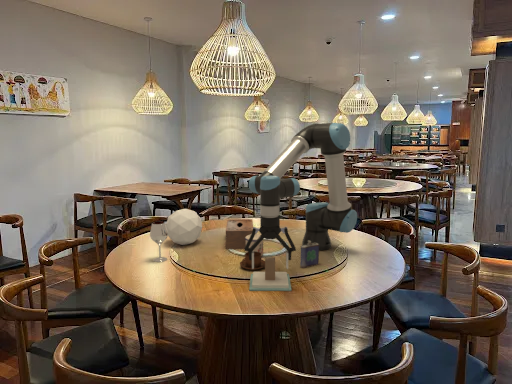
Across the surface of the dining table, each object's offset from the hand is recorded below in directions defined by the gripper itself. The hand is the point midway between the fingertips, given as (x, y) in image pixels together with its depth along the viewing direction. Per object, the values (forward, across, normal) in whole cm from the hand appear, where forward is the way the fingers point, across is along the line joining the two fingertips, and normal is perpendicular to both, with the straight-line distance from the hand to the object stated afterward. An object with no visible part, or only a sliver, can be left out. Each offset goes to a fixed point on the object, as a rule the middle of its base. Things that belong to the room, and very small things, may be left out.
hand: (270, 267), depth 150 cm
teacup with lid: (+6, +7, -36) cm, 37 cm away
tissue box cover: (+7, +16, -57) cm, 60 cm away
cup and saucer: (+7, +7, -18) cm, 21 cm away
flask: (+7, -18, -20) cm, 28 cm away
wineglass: (+6, +52, -27) cm, 59 cm away
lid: (+6, 0, 0) cm, 6 cm away
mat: (+6, 0, 0) cm, 6 cm away
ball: (+6, +46, -54) cm, 71 cm away
